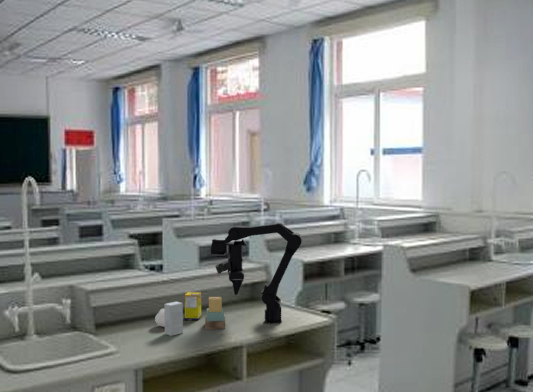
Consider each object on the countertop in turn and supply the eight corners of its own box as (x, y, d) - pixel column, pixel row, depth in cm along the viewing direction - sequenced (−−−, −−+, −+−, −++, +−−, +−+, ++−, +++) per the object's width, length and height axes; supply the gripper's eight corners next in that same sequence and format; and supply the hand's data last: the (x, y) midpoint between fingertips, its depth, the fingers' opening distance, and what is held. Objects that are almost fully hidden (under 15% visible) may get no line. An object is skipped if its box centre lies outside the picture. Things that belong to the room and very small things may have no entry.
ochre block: (221, 308, 244) (221, 296, 243) (221, 311, 239) (221, 299, 238) (208, 309, 243) (208, 297, 243) (209, 312, 238) (209, 299, 238)
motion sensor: (164, 323, 245) (163, 304, 245) (178, 325, 242) (178, 307, 241) (151, 327, 238) (151, 308, 238) (166, 330, 235) (166, 311, 234)
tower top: (223, 316, 245) (223, 308, 245) (223, 320, 238) (223, 312, 238) (207, 316, 244) (206, 308, 244) (206, 321, 237) (206, 312, 237)
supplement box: (201, 316, 256) (201, 291, 255) (198, 320, 250) (198, 294, 249) (187, 316, 256) (187, 291, 256) (184, 319, 250) (184, 294, 250)
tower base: (224, 324, 245) (224, 316, 245) (225, 330, 237) (225, 321, 237) (205, 324, 245) (205, 316, 244) (205, 330, 237) (205, 321, 236)
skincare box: (176, 330, 234) (176, 301, 233) (183, 333, 231) (183, 303, 230) (164, 333, 230) (163, 303, 229) (170, 336, 227) (170, 305, 226)
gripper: (216, 252, 258) (216, 287, 258) (216, 259, 239) (216, 297, 240) (241, 252, 259) (241, 287, 260) (244, 259, 240) (244, 297, 241)
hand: (235, 292), depth 250 cm, fingers open, 9 cm apart
